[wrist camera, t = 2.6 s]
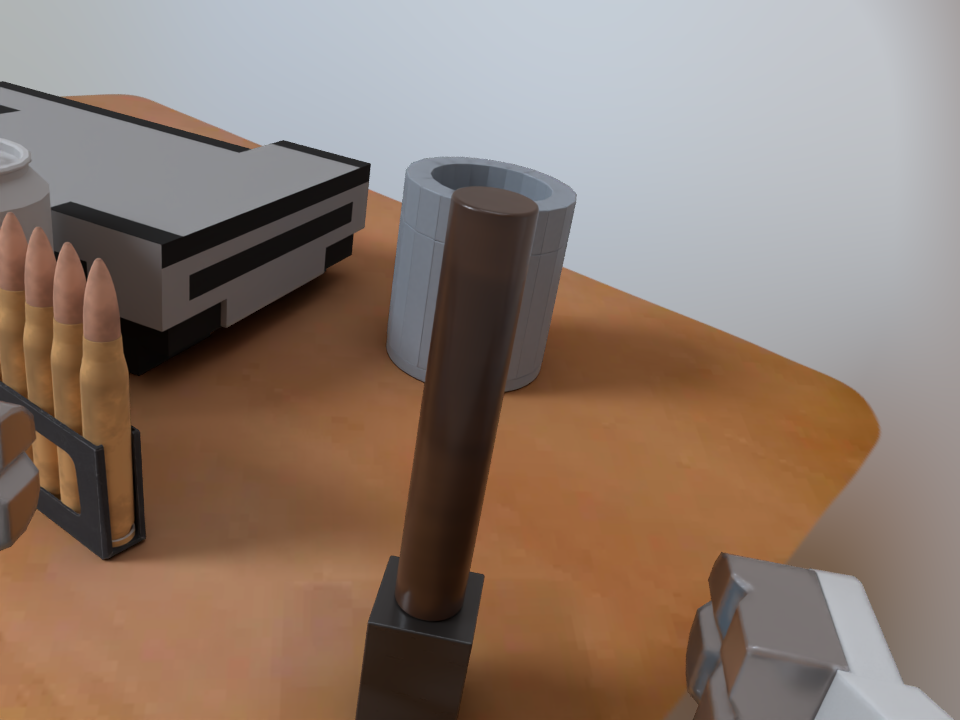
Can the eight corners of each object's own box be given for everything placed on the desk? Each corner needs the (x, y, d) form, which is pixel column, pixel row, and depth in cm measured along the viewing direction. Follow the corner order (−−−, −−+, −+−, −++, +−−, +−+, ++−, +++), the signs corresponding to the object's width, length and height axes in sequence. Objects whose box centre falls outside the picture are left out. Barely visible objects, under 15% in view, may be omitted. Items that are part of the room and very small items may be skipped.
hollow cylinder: (544, 337, 58) (578, 176, 53) (535, 407, 49) (574, 222, 44) (403, 309, 58) (423, 147, 53) (369, 374, 50) (390, 188, 45)
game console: (11, 169, 70) (1, 65, 67) (359, 276, 62) (370, 163, 58) (-272, 234, 53) (-306, 96, 49) (163, 395, 44) (161, 244, 41)
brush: (463, 681, 31) (562, 193, 23) (449, 757, 28) (557, 231, 20) (375, 663, 31) (442, 171, 23) (352, 736, 28) (420, 205, 20)
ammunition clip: (148, 540, 35) (140, 261, 29) (106, 562, 33) (91, 273, 28) (-3, 430, 40) (-32, 174, 34) (-44, 446, 38) (-83, 180, 33)
